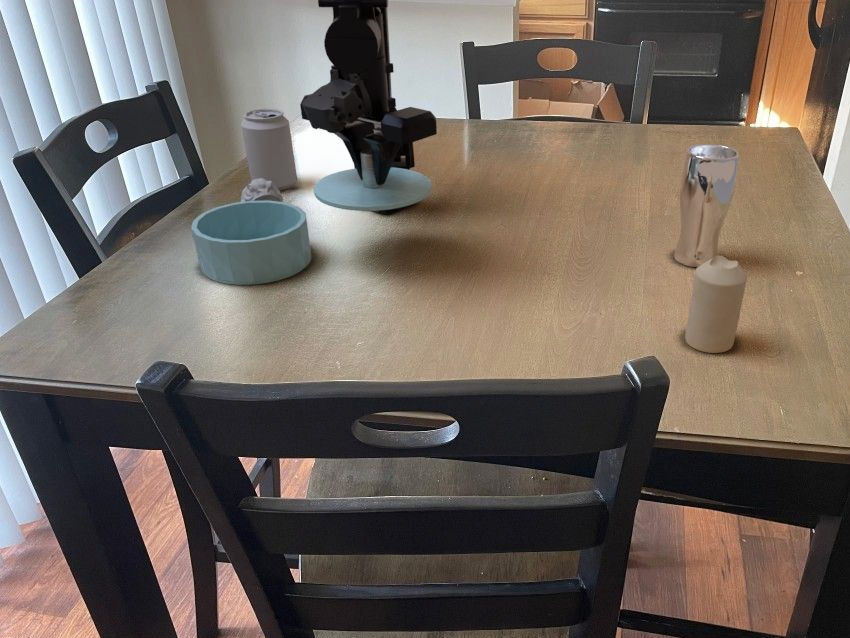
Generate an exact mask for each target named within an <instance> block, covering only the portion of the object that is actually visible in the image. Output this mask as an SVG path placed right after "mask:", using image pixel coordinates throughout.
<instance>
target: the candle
mask: <svg viewBox="0 0 850 638" xmlns="http://www.w3.org/2000/svg"><path fill="white" fill-rule="evenodd" d="M747 280H748V275H747V273H746V272H745V270H744V269H743V268H742V266H741V265H740V263H739V261H738V260H729V259H728V258H727V257H726V256H723V255H719V256H715V257H714V258H712V259H711V260H709V261H707V262H705V263H703V264H702V265H700V266H699V267H698V268H697V267H696V269H695V271H694V278H693V284H692V291H691V297H690V302H689V308H688V316H687V320H686V321H687V322H686V328H685V334H684V339H685V342H686V344H687V345H689V346H690V347H691V348H693V349H695V350H697V351H700V352H703V353H709V354H719V353H724V352H727V351H729V350H731V349H732V348H733V346H734V343H735V339H736V336H737V335H736V334H737V330H738V325H739V320H740V315H741V309H742V306H743V300H744V296H745V295H744V294H745V291H746V285H747Z"/></svg>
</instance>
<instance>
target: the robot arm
mask: <svg viewBox="0 0 850 638" xmlns="http://www.w3.org/2000/svg"><path fill="white" fill-rule="evenodd" d="M317 3H318V8H332V16H333V17H332V22H331V23H330V25H329V26H328V27H327V30H326V32H325V36H324V40H323V45H324V50H325V51H324V52H325V54H326V56H327V58H328V60H329V62H330V63H331V64H332V65H330V70H329V75H330V76H329V79H330V80H329V82H328V83H326V84H324V85H322V86H320V87H319V88H317V89H316V90H315V91H313V92H312V93H310V94H305V95H304V96H303V98H302V99H301V102H300V103H299V105H300V107H299V108H300V113H301V119H302V120H305V121H308V122H309V124H310V126H311V128H312V129H313V130H318V129H319V130H323V131H326V132H327V133H330V134H334V135H335V136H337V137H338V138H339V139H341V141H342V142H343V144H344V146H345V148H346V150H347V151H348V154H349V156H350V158H351V160H352V163H353V167H354V168H353V169H355V168H356V170H357V172H358V174H359V176H360V179H361V180H363V177H362V167H361V156H360V151H361V150H364V149H372V157H373V165H374V172H375V178H376V182H377V185H382V184H384V183H385V181H386V179H387V176H388V173H389V171H390V168H391V167H394V168H402V169H407V170H411V169H413V168H415V166H416V164H415V163H416V162H415V149H414V143H415V142H418V141H421V140H424V139H427V138H430V137H432V136H436V135H437V134H438V131H437V129H438V128H437V126H438V125H437V117H436V116H435V114H434V113H433V112H432V111H431V110H426V109H423V108H417V107H413V106H408V107H404V108H401V109H397V101H396V98H395V97H393V96H392V95H393V94H392V77H391V75H392V73H394V72H395V71H394V70H395V69H394V63H392V62H391V56H390V55H391V53H390V35H389V16H388V7H389V0H317ZM409 206H410V205H408V206H404V207H400V208H395V209H388V210H378V211H376V212H377V213H380V214H382V215H391V214H392V213H394V212H397V211H399V210H401V209H402V210H403V209H404V208H407V207H409Z"/></svg>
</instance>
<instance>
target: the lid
mask: <svg viewBox="0 0 850 638" xmlns="http://www.w3.org/2000/svg"><path fill="white" fill-rule="evenodd" d="M360 156H361V167H362V177H363V180H361V179H360V176H359V174H358V172H357V170H356V168H350V169H345V170H340V171H336V172H333V173H331V174H328V175H326V176H324V177H322V178H320V179H319V180H318V181H317V182H316V183H315V184H314V186H313V194H314V197H315V198H316V199H317V200H318V201H319V202H320V203H322V204H323V205H326V206H329V207H331V208H335V209H340V210H346V211H356V212H357V211H359V212H377V211H378V210H388V209H395V208H400V207H404V206H407V207H409V206H411V205H414V204H417V203H419V202H421V201H423V200H424V199H426V198H427V197H428V196H429V195H430V194H432V193H431V192H432V190H433V185H432V184H433V183H432V181H431V179H430V178H428V177H427V176H426V175H425V174H422V173H420V172H418V171H414V170H411V169H410V170H407V169H402V168H394V167H391V168H390V171H389V173H388V176H387V179H386V181H385V183H384V184H382V185H377V182H376V178H375V172H374V165H373V157H372V149H364V150H361V151H360ZM408 205H409V206H408ZM404 208H405V207H404Z"/></svg>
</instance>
